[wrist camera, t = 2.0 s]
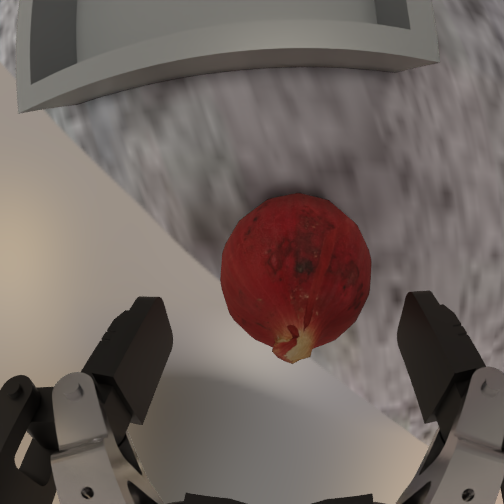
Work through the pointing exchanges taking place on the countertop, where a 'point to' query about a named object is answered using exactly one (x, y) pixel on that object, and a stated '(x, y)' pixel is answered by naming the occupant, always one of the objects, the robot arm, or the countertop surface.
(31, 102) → the tray
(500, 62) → the countertop surface
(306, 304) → the onion
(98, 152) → the countertop surface
